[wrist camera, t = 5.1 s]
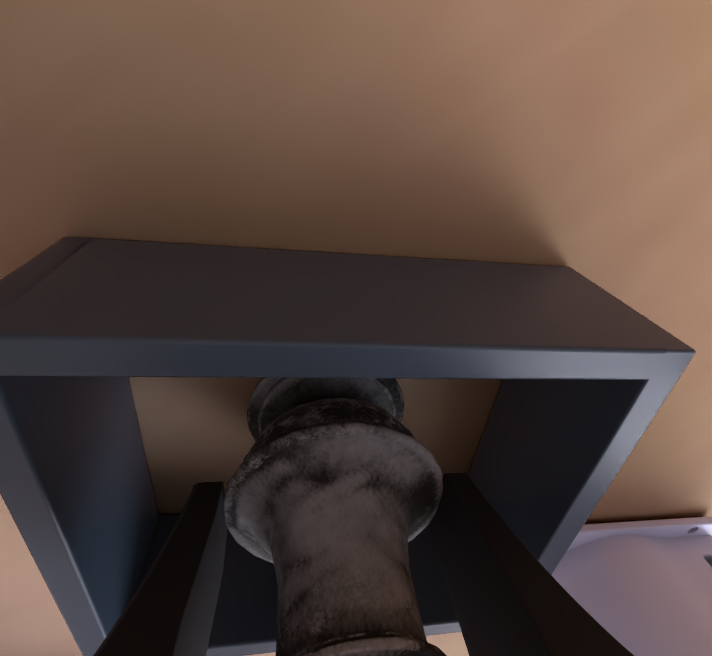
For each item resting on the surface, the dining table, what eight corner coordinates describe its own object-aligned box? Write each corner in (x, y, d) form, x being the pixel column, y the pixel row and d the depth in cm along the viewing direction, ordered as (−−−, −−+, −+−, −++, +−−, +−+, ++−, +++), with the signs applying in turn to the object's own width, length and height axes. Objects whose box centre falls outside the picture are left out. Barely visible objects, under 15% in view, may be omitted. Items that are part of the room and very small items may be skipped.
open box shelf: (569, 265, 12) (698, 351, 8) (470, 510, 18) (518, 626, 14) (63, 235, 10) (-86, 334, 6) (139, 528, 16) (89, 673, 12)
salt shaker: (198, 408, 13) (-151, 1617, 3) (348, 307, 12) (707, 1770, 2) (312, 493, 16) (345, 1233, 6) (441, 419, 15) (779, 1187, 4)
